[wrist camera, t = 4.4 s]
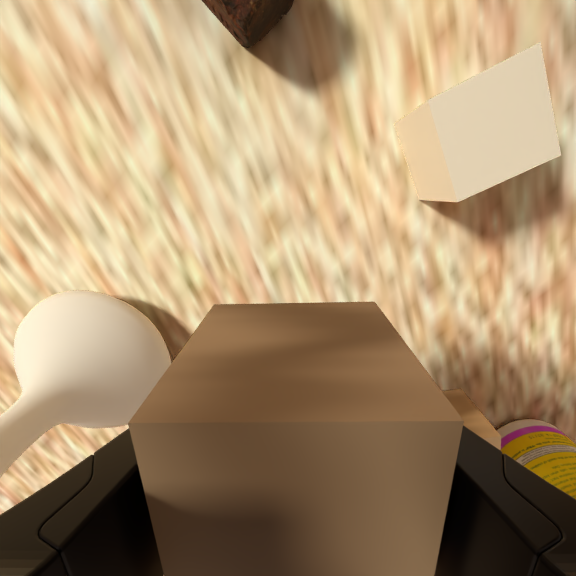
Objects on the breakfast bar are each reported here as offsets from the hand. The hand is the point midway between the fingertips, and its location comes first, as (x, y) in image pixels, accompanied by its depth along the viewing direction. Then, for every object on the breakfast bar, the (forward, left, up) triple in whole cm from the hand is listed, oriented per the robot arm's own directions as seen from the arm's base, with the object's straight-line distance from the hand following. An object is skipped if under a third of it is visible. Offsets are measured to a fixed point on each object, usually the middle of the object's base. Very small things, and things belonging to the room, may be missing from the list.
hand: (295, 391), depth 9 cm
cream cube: (-9, -9, -13) cm, 18 cm away
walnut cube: (0, 0, -1) cm, 1 cm away
